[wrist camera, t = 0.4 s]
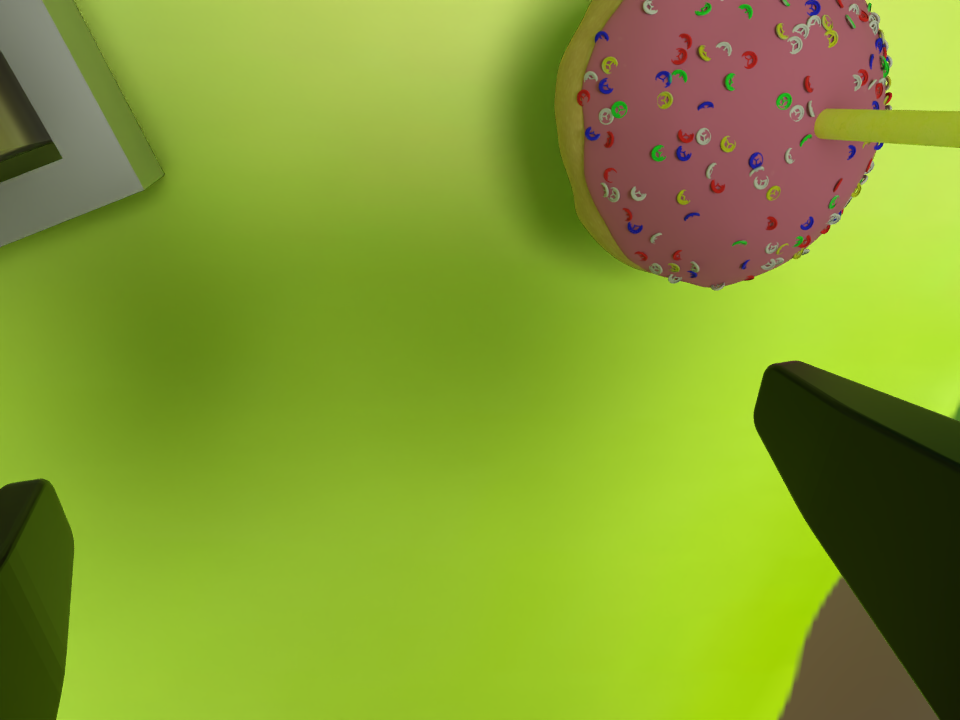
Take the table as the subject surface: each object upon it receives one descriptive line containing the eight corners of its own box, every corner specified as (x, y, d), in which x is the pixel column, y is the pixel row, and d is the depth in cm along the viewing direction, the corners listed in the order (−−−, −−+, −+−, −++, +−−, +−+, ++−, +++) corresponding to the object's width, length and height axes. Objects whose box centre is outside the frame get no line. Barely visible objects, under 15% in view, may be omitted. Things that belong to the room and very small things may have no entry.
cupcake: (783, -37, 22) (1269, -159, 12) (750, 246, 25) (1115, 362, 14) (507, -48, 20) (780, -210, 10) (506, 261, 23) (713, 409, 12)
